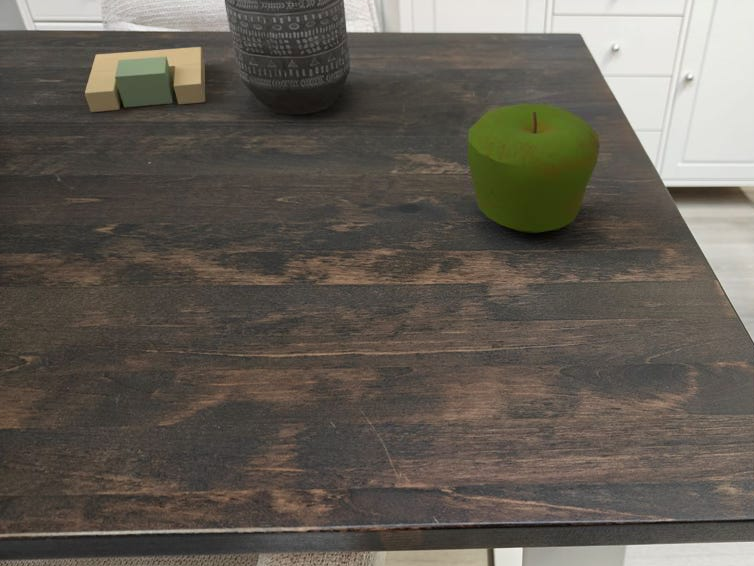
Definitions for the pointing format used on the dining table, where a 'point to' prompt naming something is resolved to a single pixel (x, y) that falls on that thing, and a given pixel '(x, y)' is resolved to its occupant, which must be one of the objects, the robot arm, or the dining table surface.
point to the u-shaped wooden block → (181, 61)
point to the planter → (290, 51)
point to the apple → (531, 165)
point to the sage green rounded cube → (144, 81)
